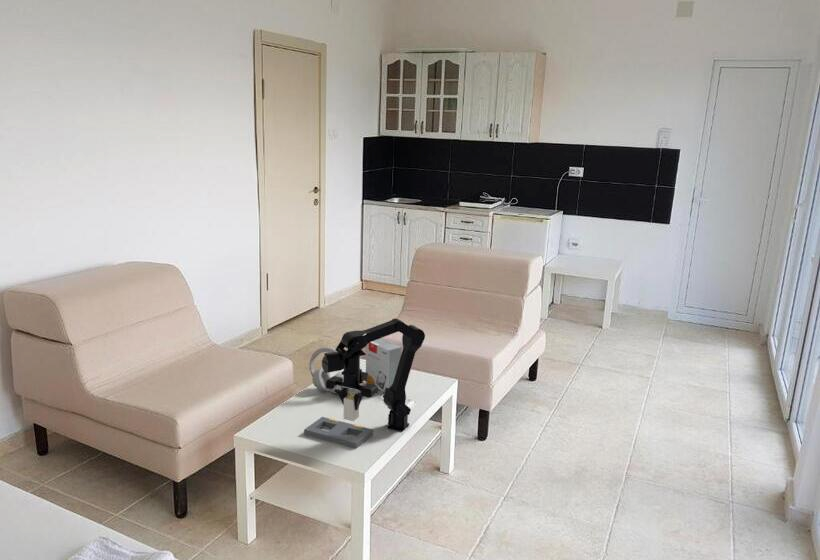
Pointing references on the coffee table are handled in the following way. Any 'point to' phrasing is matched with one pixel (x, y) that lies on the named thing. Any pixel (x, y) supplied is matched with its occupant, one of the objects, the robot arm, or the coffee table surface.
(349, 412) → the plug
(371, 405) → the coffee table surface
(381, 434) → the coffee table surface
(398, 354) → the hard drive box
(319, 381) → the headphones
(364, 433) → the panel
